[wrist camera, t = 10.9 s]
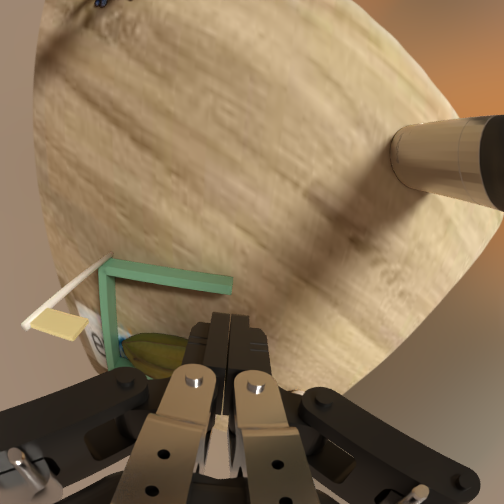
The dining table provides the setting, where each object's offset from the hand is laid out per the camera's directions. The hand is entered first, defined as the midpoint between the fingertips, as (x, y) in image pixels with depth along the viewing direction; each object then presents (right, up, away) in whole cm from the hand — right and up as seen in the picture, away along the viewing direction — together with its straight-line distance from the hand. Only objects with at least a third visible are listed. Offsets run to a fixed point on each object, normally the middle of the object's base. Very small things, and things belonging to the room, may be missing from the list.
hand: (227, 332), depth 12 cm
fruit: (-10, -11, +30) cm, 33 cm away
